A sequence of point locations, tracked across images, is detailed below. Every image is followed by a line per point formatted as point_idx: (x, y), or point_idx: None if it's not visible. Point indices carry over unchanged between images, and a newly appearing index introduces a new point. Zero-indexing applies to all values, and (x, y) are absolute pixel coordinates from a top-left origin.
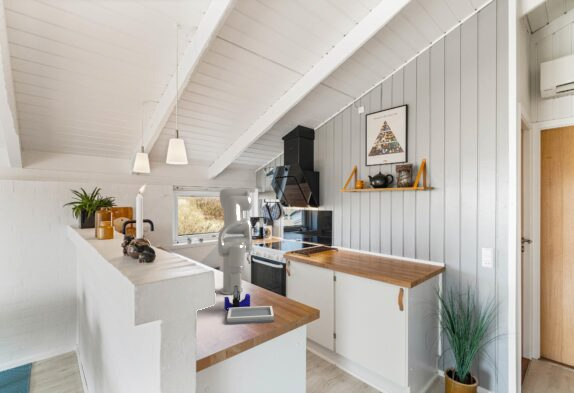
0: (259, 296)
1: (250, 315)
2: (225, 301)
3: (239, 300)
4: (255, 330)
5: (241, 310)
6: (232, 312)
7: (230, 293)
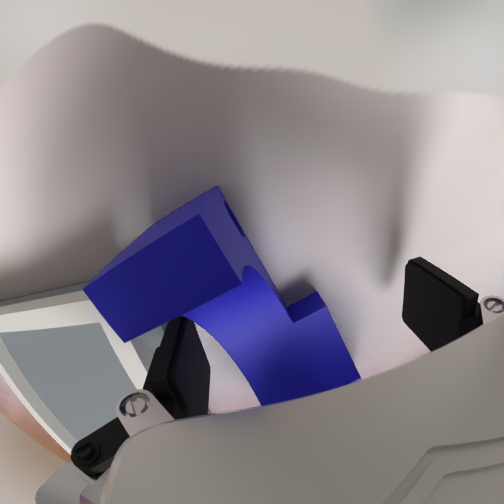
0: None
1: (97, 428)
2: (132, 248)
3: (403, 314)
4: (20, 417)
5: None
6: (84, 325)
7: (131, 439)
